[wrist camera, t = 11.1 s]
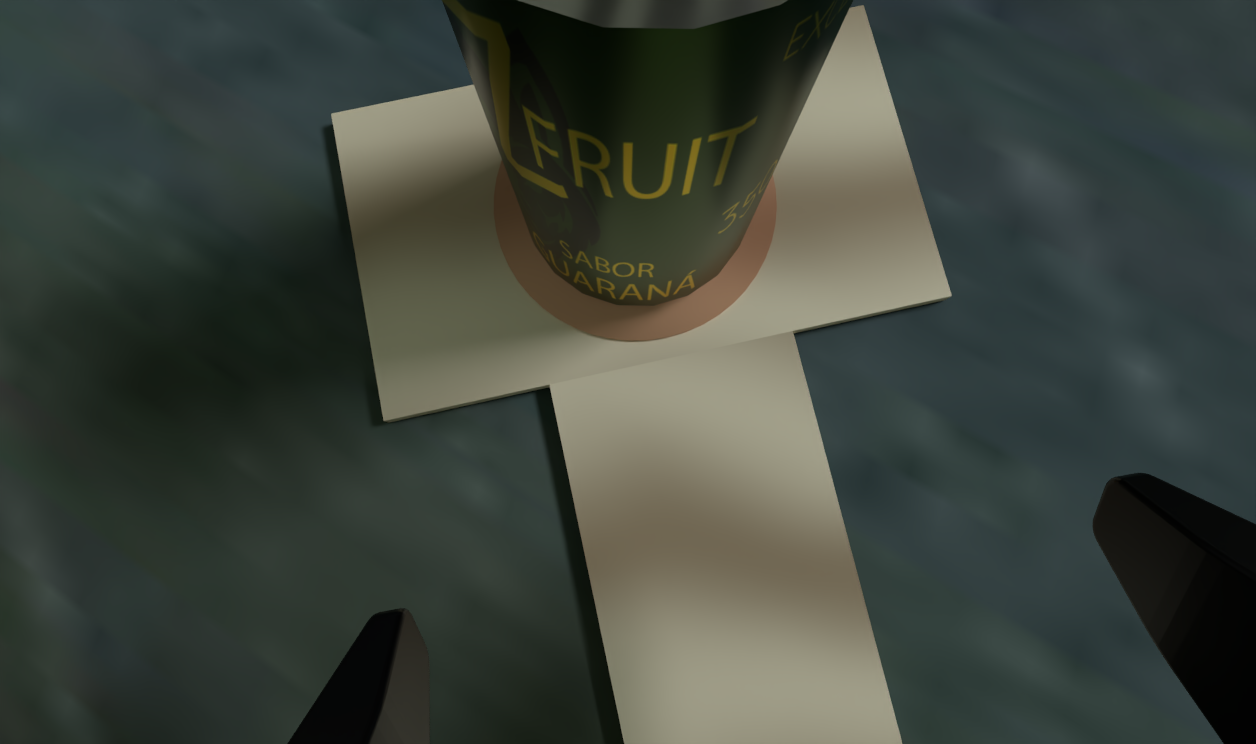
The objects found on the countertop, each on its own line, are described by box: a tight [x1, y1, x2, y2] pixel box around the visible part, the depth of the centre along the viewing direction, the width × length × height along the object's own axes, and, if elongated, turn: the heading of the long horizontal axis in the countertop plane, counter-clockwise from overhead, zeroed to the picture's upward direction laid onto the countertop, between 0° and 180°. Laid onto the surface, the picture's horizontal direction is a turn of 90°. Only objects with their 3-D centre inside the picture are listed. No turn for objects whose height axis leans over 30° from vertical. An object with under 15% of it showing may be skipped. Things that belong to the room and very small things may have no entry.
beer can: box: [442, 0, 853, 306], centre depth 12 cm, size 5×5×12 cm
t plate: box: [331, 5, 952, 744], centre depth 18 cm, size 18×14×1 cm
